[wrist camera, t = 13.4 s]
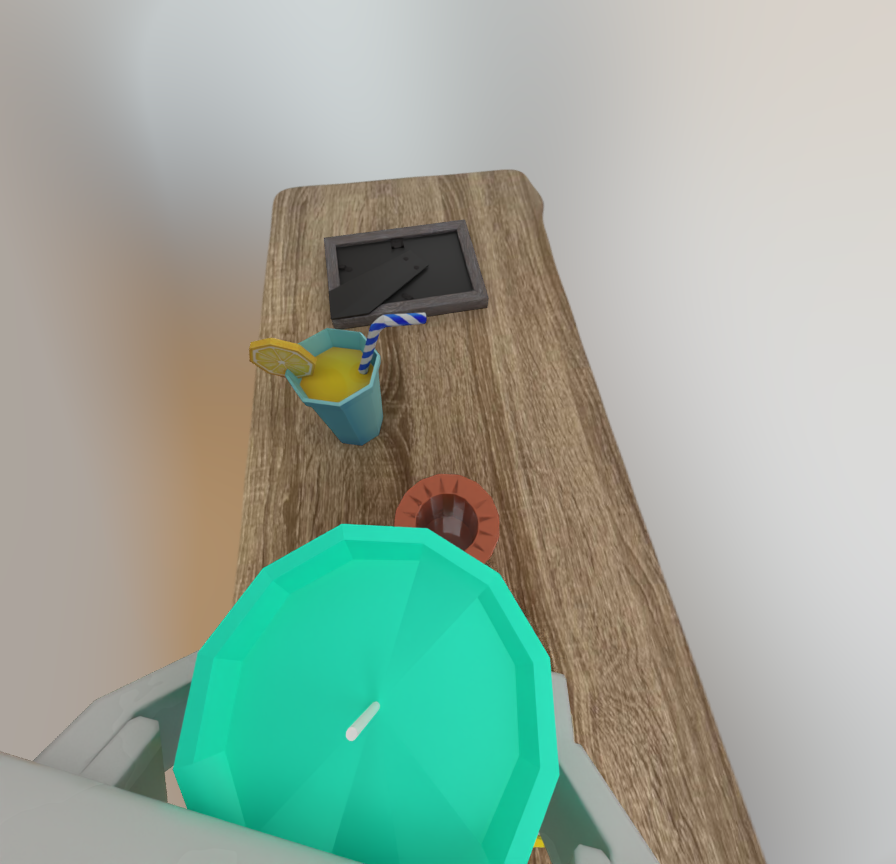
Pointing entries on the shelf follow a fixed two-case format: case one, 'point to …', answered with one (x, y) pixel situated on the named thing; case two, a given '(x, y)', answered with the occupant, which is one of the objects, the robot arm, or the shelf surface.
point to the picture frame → (402, 273)
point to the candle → (375, 705)
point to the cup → (335, 374)
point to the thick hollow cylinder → (452, 513)
